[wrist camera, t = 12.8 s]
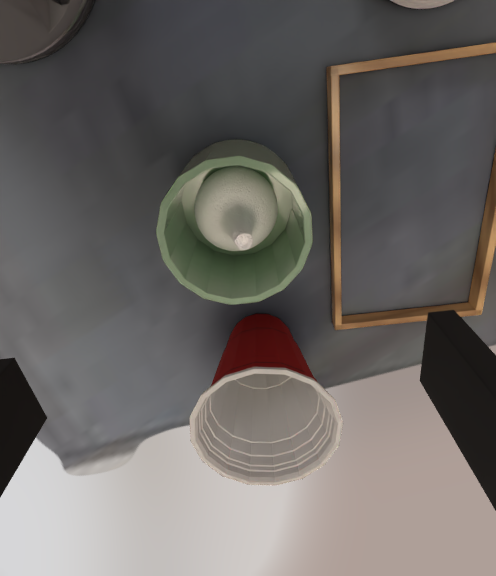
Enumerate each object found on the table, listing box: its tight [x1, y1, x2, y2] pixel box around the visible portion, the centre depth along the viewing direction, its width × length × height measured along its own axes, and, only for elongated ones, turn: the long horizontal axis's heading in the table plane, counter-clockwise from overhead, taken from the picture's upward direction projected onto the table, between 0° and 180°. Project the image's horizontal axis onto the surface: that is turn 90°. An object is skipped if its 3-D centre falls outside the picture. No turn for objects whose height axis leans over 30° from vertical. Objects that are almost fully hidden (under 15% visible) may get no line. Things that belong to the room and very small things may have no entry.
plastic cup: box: [190, 314, 343, 485], centre depth 31 cm, size 11×11×12 cm
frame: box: [327, 42, 496, 330], centre depth 30 cm, size 21×13×1 cm, turn 7°
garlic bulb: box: [194, 166, 278, 251], centre depth 26 cm, size 6×6×8 cm
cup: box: [156, 139, 313, 305], centre depth 27 cm, size 10×10×8 cm
